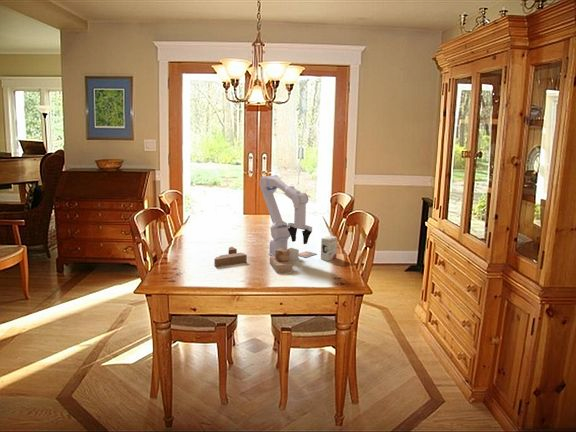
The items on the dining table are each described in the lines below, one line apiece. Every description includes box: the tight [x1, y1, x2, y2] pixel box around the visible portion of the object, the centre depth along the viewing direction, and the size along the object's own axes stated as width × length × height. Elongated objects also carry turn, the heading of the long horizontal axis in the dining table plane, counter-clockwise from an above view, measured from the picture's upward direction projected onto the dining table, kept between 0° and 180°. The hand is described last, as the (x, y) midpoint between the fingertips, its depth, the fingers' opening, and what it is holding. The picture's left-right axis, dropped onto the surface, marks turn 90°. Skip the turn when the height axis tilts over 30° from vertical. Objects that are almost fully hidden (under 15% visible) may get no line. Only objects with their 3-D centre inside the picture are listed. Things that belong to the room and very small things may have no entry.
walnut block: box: [275, 248, 290, 262], centre depth 246 cm, size 5×5×5 cm
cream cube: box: [288, 247, 300, 261], centre depth 262 cm, size 5×5×5 cm
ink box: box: [320, 235, 338, 262], centre depth 263 cm, size 9×5×12 cm, turn 141°
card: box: [298, 251, 317, 259], centre depth 270 cm, size 7×10×1 cm
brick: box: [269, 255, 294, 274], centre depth 247 cm, size 17×8×5 cm, turn 15°
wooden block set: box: [213, 246, 248, 268], centre depth 256 cm, size 17×6×18 cm
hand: (299, 242), depth 255 cm, fingers open, 7 cm apart
